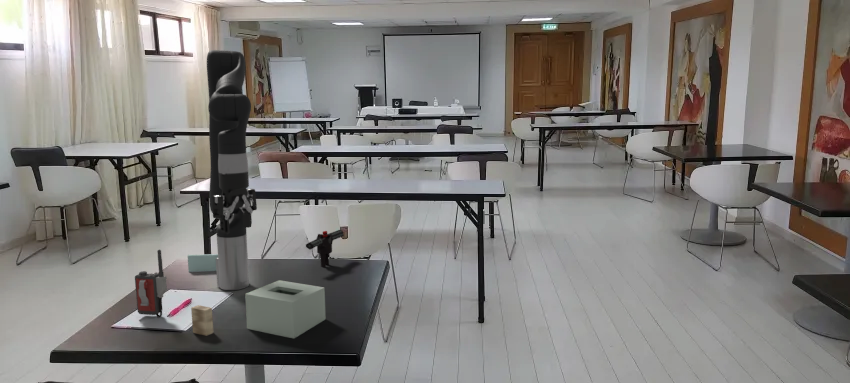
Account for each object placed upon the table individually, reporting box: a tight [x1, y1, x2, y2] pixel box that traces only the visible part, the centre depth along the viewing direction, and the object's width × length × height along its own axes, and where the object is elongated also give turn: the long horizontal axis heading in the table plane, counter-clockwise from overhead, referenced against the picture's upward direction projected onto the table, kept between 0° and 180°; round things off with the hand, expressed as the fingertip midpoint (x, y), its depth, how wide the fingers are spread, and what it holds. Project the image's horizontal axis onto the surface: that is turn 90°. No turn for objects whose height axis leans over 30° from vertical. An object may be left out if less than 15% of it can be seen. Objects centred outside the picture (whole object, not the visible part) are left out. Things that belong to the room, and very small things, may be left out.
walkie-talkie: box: [134, 249, 168, 318], centre depth 180 cm, size 9×4×20 cm, turn 79°
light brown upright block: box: [190, 304, 214, 337], centre depth 170 cm, size 5×2×7 cm, turn 63°
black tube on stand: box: [305, 229, 344, 268], centre depth 225 cm, size 5×20×15 cm, turn 155°
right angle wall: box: [187, 253, 218, 273], centre depth 229 cm, size 12×12×8 cm
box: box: [244, 279, 326, 339], centre depth 174 cm, size 16×14×10 cm
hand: (236, 230), depth 170 cm, fingers open, 8 cm apart
